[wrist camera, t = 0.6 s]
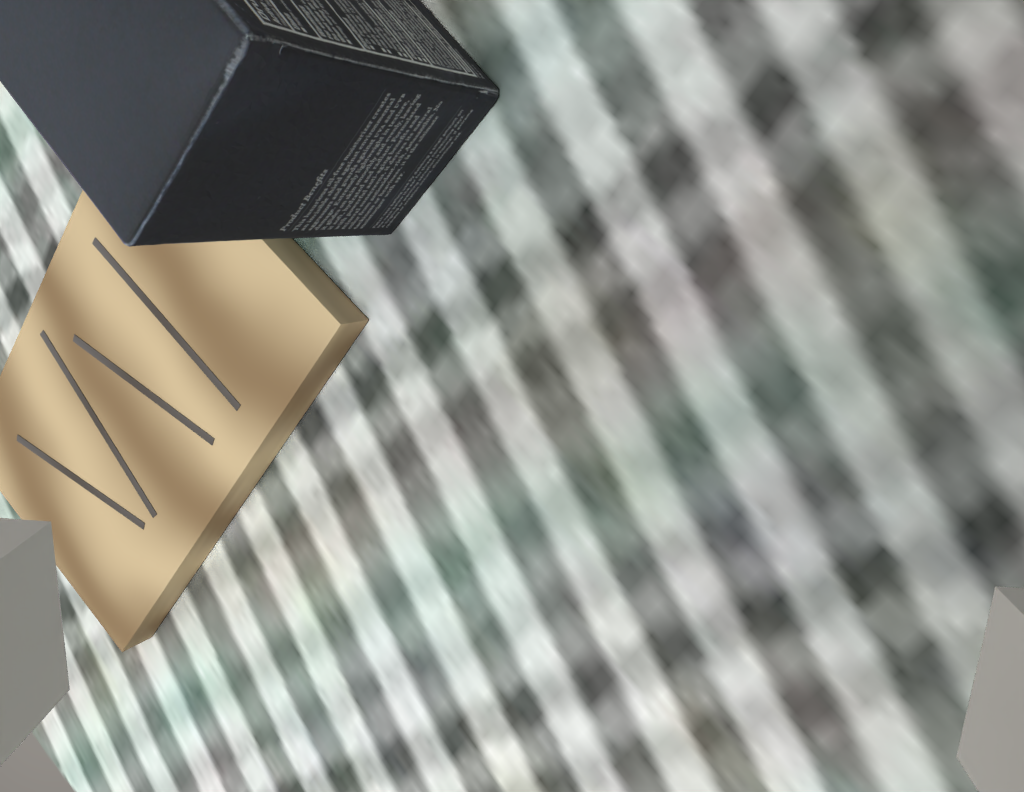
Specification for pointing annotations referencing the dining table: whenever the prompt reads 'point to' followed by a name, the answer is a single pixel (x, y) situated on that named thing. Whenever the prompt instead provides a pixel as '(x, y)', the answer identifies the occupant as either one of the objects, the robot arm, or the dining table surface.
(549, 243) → the dining table surface
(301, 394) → the oak board
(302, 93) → the small box
